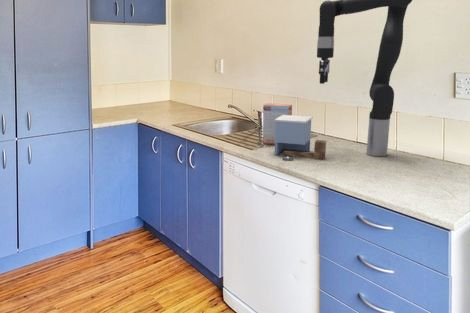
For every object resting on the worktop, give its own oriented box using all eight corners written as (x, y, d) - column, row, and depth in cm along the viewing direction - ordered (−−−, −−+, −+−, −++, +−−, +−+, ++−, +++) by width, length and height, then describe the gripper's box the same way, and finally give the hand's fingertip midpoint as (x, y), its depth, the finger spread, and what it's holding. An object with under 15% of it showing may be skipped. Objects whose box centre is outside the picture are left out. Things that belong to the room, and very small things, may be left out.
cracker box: (291, 144, 224) (292, 104, 219) (286, 146, 219) (288, 105, 214) (267, 141, 231) (268, 102, 226) (262, 143, 226) (263, 104, 221)
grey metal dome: (294, 159, 197) (294, 155, 196) (291, 161, 192) (291, 158, 192) (283, 158, 199) (284, 154, 198) (280, 160, 194) (280, 157, 194)
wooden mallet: (325, 157, 199) (326, 140, 197) (323, 159, 195) (324, 142, 193) (284, 153, 205) (285, 137, 203) (282, 156, 201) (282, 139, 199)
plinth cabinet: (310, 150, 212) (312, 116, 208) (304, 157, 198) (306, 121, 194) (281, 148, 217) (282, 114, 213) (273, 154, 204) (274, 119, 199)
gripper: (331, 47, 190) (329, 84, 194) (336, 47, 203) (334, 81, 207) (314, 47, 192) (312, 83, 196) (320, 47, 205) (318, 81, 209)
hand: (323, 82), depth 202 cm, fingers open, 8 cm apart
